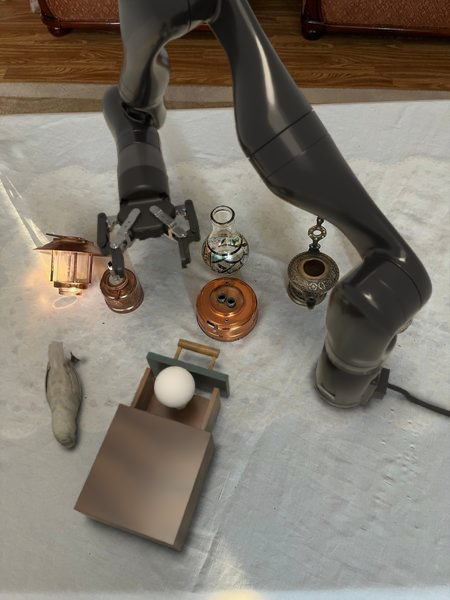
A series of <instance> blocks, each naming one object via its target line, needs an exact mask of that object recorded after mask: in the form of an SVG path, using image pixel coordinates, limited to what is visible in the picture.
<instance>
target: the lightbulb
mask: <svg viewBox="0 0 450 600" xmlns="http://www.w3.org/2000/svg"><path fill="white" fill-rule="evenodd" d="M155 379H156V380H155V384H154V391H155V394H156V397H157V398H158V400H159V401H160V402H161V403H162V404H164V405H166V406H168V407H174V408H175V409H178V410H181V409H184V408H185V407H186V406H187V403H188V402H189V401H190V400H191V398H192V396H193V394H194V395H195V391H196V389H195V382H194V379H193V377H192V375H191V374H190V373H189V372H188V371H187V370H186V369H184V368H181V367H177V366H172V367H168V368H166V369H164V370H163V371H161V372H160V373H159V375H158V376H157V377H155Z"/></svg>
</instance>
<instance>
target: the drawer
mask: <svg viewBox="0 0 450 600" xmlns="http://www.w3.org/2000/svg"><path fill="white" fill-rule="evenodd" d="M182 350H187V351H190V352H193V353H197V354H201V355H203V356H207V357H210V358H211V360H210V361H209V365H208V366H207V367H204V366H199V365H196V364H193V363H190V362H187V361H183V360H179V358H180V354H181V352H182ZM220 353H221V349H218V348H215V347H211V346H210V345H209V346H208V345H205V344H201V343H198V342H195V341H191V340H187V339H184V338H179V339H178V341H177V349H176V351H175V353H174V356H173V357H169V356H166V355H162V354H159V353H155V352H153V351H148V352H147V354H146V357H145V359H146V361H147V364H148V366H149V367H148V366H147V367H146V368H145V370H144V372H143V375H142V378H141V380H140V382H139V385H138V387H137V388H136V391H135V393H134V396H133V397H132V401H131V403H130V405H129V406H130V407H133V408H136V409H139V410H142V411H145V412H149V413H152V414H155V415H158V416H161V417H164V418H168V419H171V420H174V421H177V422H180V423H183V424H186V425H190V426H193V427H196V428H199V429H202V430H205V431H208V432H212V433H213V429H214V427H215V423H216V421H217V418H218V415H219V413H220V408H221V407H222V400H221V397H222V398H225V399H229V396H230V394H231V390H230V389H231V388H230V376H229V374H227V373H223V372H221V371H217V370H213V368H214V366H215V362H216V361H217V359H218V358H219V357H220ZM172 366H177V367H181V368H184V369H186V370H187V371H188V372H189V373H190V374H191V375H192V377H193V379H194V382H195V390H199V391H202V392H205V393H208V394H211V395H210V397H209V398H207V397H204V396H200V395H197V394H195V393H194V394H193V396H192V398H191V400H190V401H189V402H188V403H187V406H186V407H185V408H184V409H181V410H178V409H175V408H174V407H168V406H166V405H164V404H162V403H161V402H160V401H159V400H158V398H157V397H156V394H155V391H154V384H155V380H156V378H157V376H158V375H159V373H160V372H161V371H163V370H164V369H166V368H168V367H172Z"/></svg>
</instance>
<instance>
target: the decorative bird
mask: <svg viewBox="0 0 450 600" xmlns="http://www.w3.org/2000/svg"><path fill="white" fill-rule="evenodd" d="M47 347H48V348H47V349H48V350H47V358H48V360H47V363H46V364H47V366H46V371H45V376H44V396H45V398H46V402H47V404H48V407H49V409H50V414H51V431H52V435H53V437H54V439H55V440H56V442H57V443H58V444H60V446H63V447H64V448H68V449H69V448H72V447H74V445H75V443H76V435H77V425H76V418H77V415H78V410H79V407H80V404H81V401H82V389H81V383H80V379H79V376H78V374H77V371H76V369H75V367H74V364H77V361H78V362H80V361H82V360H81V359H78V358H77V356H75V354H73V352H72V351H70V359H69V358H68V357H65V348H64V343H63V342H61V341H57V340H51V342H50V343H48V345H47Z"/></svg>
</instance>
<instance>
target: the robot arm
mask: <svg viewBox="0 0 450 600" xmlns="http://www.w3.org/2000/svg"><path fill="white" fill-rule="evenodd" d="M117 9H118V21H119V31H120V39H121V48H122V58H121V64H120V69H119V75H118V80H117V84H113V85H110V86H109V87H108V88H107V89H106V90H104V93H103V95H102V97H101V98H102V99H101V111H102V115H103V119H104V121H105V123H106V126H107V128H108V130H109V132H110V133H111V135H112V137H113V140H114V143H115V145H116V156H117V163H116V164H117V165H116V179H117V180H116V181H117V190H118V191H117V193H118V203H119V210H118V212H117V213H116V214H115V215H107V214H106V213H105V212H102V211H101V212H99V213H98V214H97V216H96V217H97V219H96V221H97V222H96V223H97V224H96V245H97V248H98V251H99V252H100V255H101V256H102V257H107V256H110V257H111V258H110V259H111V268H112V271H113V272H114V274H115V276H118V277H119V279H121V280H122V279H126V268H125V267H126V265H125V257H124V254H125V253H126V251H127V250H128V249H130V248H131V247H132V246H133V245H134V243H135V242H136V241H137V240H138V241H146V240H149V239H159V238H161V237H162V236H165V237H166V238H167V239H168V240H170V241H171V242H175V243H176V244H177V245H178V253H179V259H180V264H181V265H180V266H181V269H182V270H184V269H188V265H190V264H191V263H192V257H191V250H190V245H191V244H192V243H199V242H200V241H201V239H202V236H201V232H200V231H201V230H200V224H199V220H198V217H197V213H196V209H195V205H194V202H193V200H192V199H191V198H188V199H185V200H184V204H180V205H174V204H173V203H172V197H171V191H170V184H169V175H168V172H167V171H168V170H167V165H166V162H165V159H164V154H163V148H162V140H161V136H160V133H159V130H161V129H162V128H163V127H164V125H165V124H166V121H167V113H168V111H167V103H166V98H165V93H166V91H167V88H168V86H169V83H170V79H171V75H172V64H171V59H170V56H169V54H168V51H167V50H166V49H165V46H166V45H167V44H168V43H169V42H170V41H174V40H177V39H180V38H181V37H183V36H185V35H186V34H188V33H190V32H191V31H193V30H194V29H196V28H198V27H199V26H201V25H203V24H204V23H205V24H206V25H207V26H208V27H209V29H210V30H211V32H212V34H213V35H214V36H215V38H216V40H217V42H218V43H219V46H220V48H221V50H222V52H223V54H224V56H225V59H226V61H227V66H228V68H229V69H228V70H229V73H230V80H231V89H232V91H231V92H232V107H233V109H232V110H233V119H234V129H235V135H236V138H237V139H236V140H237V142H238V145H239V148H240V149H241V151H242V153H243V154H244V156H245V157H246V159H247V160H248V162H249V163H250V165H251V167H252V168H253V169H254V171H255V172H256V174H257V175H258V176H259V178H260V179H261V180H262V182H263V183H264V185H265V186H266V188H267V189H268V190H269V191H270V193H272V194H273V195H274V196H275V197H277V198H278V199H280V200H282V201H284V202H285V203H287V204H289V205H291V206H292V207H295V208H297V209H300V210H302V211H303V212H306V213H308V214H311V215H313V216H315V217H318V218H320V219H322V220H323V221H326V222H328V223H329V224H331V225H333V226H334V227H335V228H336V229H338V230H339V231H340V232H341V233H342V234H343V235H344V236H345V237H346V239H347V240H348V241H349V243H351V245H352V247H354V249H355V251H356V252H357V253H358V255H359V257H360V258H361V260H360V261H359V262H358V263H357V264H355V266H354V267H352V268H351V269H350V270H349V271H347V272H346V273H345V274H344V275H343V276H342V277H341V278H339V279H338V280H337V282H336V283H335V284H334V285H333V286H332V288H331V290H330V293H329V297H328V301H327V307H326V312H325V327H326V331H327V332H326V335H325V338H324V341H323V345H322V349H321V352H320V355H319V358H318V362H317V365H316V367H315V370H314V373H313V386H314V388H315V392H316V393H317V395H318V396H319V397H320V398H321V399H322V400H323V401H324V402H325V403H327V404H328V405H331V406H333V407H334V408H335V407H336V408H339V409H350V408H354V407H356V406H358V405H360V406H364V407H365V406H366V405H367V403H368V402H369V400H370V399H371V398H374V399H379V400H381V401H382V400H383V399H384V398H385V397H386V395H387V390H388V389H389V390H391V391H393V392H396V393H399V394H401V395H403V396H404V397H405V398H406V399H407V400H408V401H410V402H412V403H414V404H416V405H418V406H420V407H423V408H425V409H427V410H430V411H432V412H436V413H438V414H441V415H444V416H448V417H450V410H449V409H445V408H442V407H440V406H436V405H433V404H431V403H428V402H425V401H424V400H421V399H420V398H417V397H416V396H413V395H412V394H411V393H410V392H409V391H408V390H406V389H405V388H402V387H401V386H398V385H396V384H392V383H390V382H389V380H390V373H391V369H390V368H386V367H384V366H385V365H386V363H387V361H388V359H389V357H390V356H391V354H392V352H393V351H394V349H395V347H396V344H397V342H398V332H400V331H401V329H403V328H404V327H405V326H406V325H407V324H408V323H409V322H410V321H411V320H412V319H413V318H414V317H415V316H416V315H417V314H418V313H419V312H420V311H421V310H422V308H423V307H425V305H426V304H427V303H428V302H429V300H430V299H431V297H432V294H433V283H432V279H431V277H430V275H429V272H428V270H427V269H426V267H425V265H424V264H423V262H422V261H421V259H420V258H419V257H418V255H417V254H416V252H415V251H414V250H413V249H412V247H411V246H410V245H409V243H408V242H407V241H406V239H405V238H404V237H403V236H402V234H400V232H399V230H398V229H397V228H395V226H394V224H392V222H391V221H390V220H389V218H387V216H386V215H385V214H384V212H383V211H382V210H381V208H380V207H379V206H378V205H377V203H376V202H375V201H374V199H373V198H372V197H371V195H370V194H369V193H368V191H367V190H366V188H365V187H364V185H363V184H362V182H361V181H360V179H359V178H358V176H357V175H356V174H355V172H354V171H353V169H352V168H351V166H350V164H349V163H348V162H347V160H346V159H345V157H344V155H343V154H342V152H341V151H340V149H339V147H338V146H337V144H336V142H335V141H334V139H333V138H332V136H331V134H330V132H329V131H328V129H327V128H326V126H325V125H324V123H323V121H322V120H321V119H320V117H319V115H318V114H317V112H316V111H315V110H314V108H313V106H312V105H311V103H310V102H309V100H308V99H307V97H305V95H304V94H303V92H302V90H301V89H300V88H299V86H298V85H297V83H296V81H295V80H294V78H293V77H292V75H291V74H290V72H289V71H288V69H287V68H286V66H285V64H284V63H283V61H282V60H281V58H280V56H279V55H278V53H277V51H276V50H275V48H274V47H273V45H272V44H271V41H270V40H269V39H268V37H267V35H266V33H265V31H264V30H263V28H262V26H261V24H260V22H259V21H258V18H257V16H256V14H255V13H254V11H253V9H252V7H251V5H250V3H249V1H248V0H117ZM177 216H180V217H181V219H182V220H184V221H187V223H188V227H189V229H187V230H185V229H184V228H183V227H181V226H180V225H178V223H177V221H176V220H175V219H176V218H177ZM117 225H119V226H120V227H119V228H118V229H117V234H116V235H115V236H114V238H113V239H112V240H111V233H113V231H114V230H115V226H117Z"/></svg>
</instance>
